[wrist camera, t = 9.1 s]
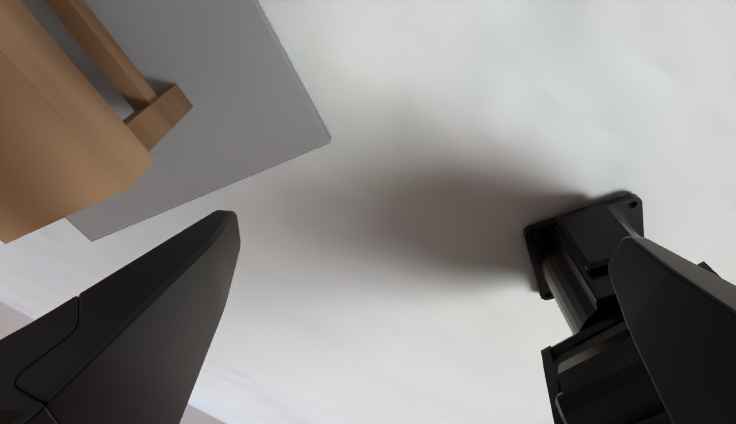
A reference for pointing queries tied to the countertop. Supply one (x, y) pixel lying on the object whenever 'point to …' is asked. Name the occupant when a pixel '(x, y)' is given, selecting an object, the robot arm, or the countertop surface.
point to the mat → (196, 99)
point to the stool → (69, 119)
